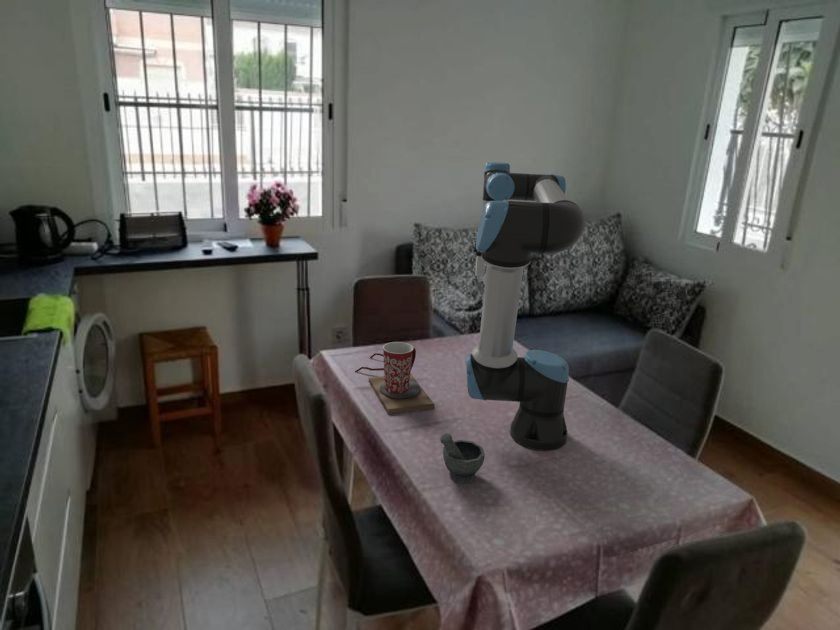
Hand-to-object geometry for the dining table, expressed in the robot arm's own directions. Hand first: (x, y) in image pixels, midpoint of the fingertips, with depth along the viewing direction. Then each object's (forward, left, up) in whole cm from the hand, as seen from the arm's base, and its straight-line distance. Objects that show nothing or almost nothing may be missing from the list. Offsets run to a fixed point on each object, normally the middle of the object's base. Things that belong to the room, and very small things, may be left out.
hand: (488, 281), depth 191 cm
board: (-9, +31, -32) cm, 45 cm away
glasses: (+12, +32, -32) cm, 47 cm away
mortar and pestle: (-54, +30, -32) cm, 70 cm away
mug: (-9, +31, -29) cm, 44 cm away
